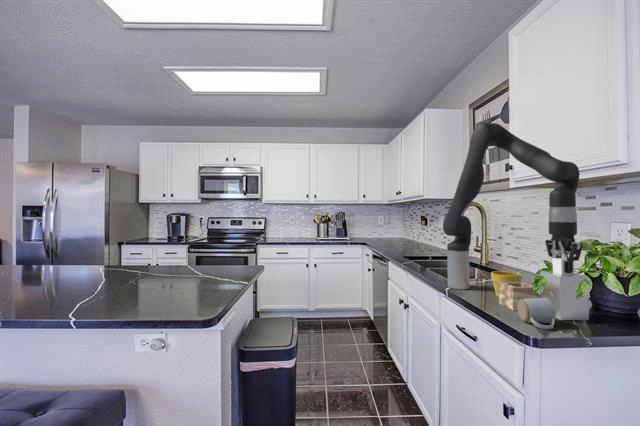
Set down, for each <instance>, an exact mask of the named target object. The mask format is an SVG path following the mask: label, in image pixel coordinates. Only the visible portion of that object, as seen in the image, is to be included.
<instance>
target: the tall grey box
mask: <svg viewBox="0 0 640 426" xmlns="http://www.w3.org/2000/svg"><path fill="white" fill-rule="evenodd" d="M547 271H548V270H544V271H543V270H542V271H539V272H540V275H542V276H544V277H545V278H546V279H547V280H548V282H547V283H546V284H545V289H544V291H543V292H542V293H541V292H540V298H548V299H549V300H550V301H551V302H552V304H553V306H554V309H555V313H556V318H555V319H556V320H559V321H581V320H582V321H585V320H586V321H588V320H589V318H590V317H589V295H588V296H586V297H583V298H580V299H576V298H578V297H575V295H577V293H576V291H575V290H576V288H577V286H578V284H580V282H581V281H582V280H584V279H588V280H589V276H588V275H584V274H581V273H576V272H574V275H558V274H554V273H550V272H547ZM550 291H551V292H552V294H553V297H552V296H551V294H550Z"/></svg>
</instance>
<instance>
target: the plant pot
mask: <svg viewBox="0 0 640 426" xmlns="http://www.w3.org/2000/svg"><path fill="white" fill-rule="evenodd" d="M490 278H491V280H490V281H492V283H493V288H494V291H495V296H496V297H497V298H499V282H521V274H520V273H518V272H512V271H502V270H498V271H497V270H496V271H491V272H490Z"/></svg>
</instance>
